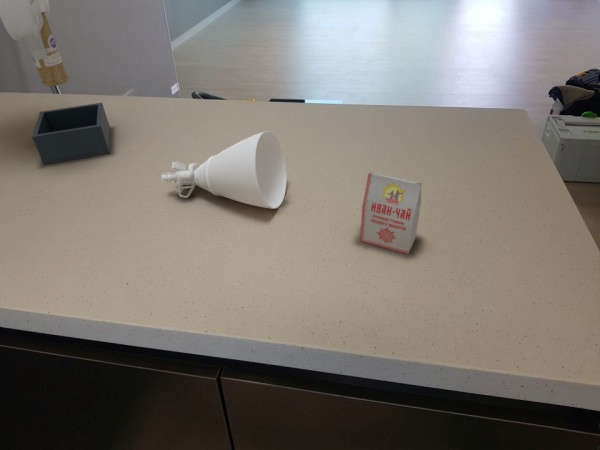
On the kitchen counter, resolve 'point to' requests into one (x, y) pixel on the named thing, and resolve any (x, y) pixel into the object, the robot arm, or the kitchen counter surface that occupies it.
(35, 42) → the robot arm
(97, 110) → the box
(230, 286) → the kitchen counter surface
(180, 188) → the rocket engine
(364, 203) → the tea bag
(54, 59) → the sprinkles bottle
